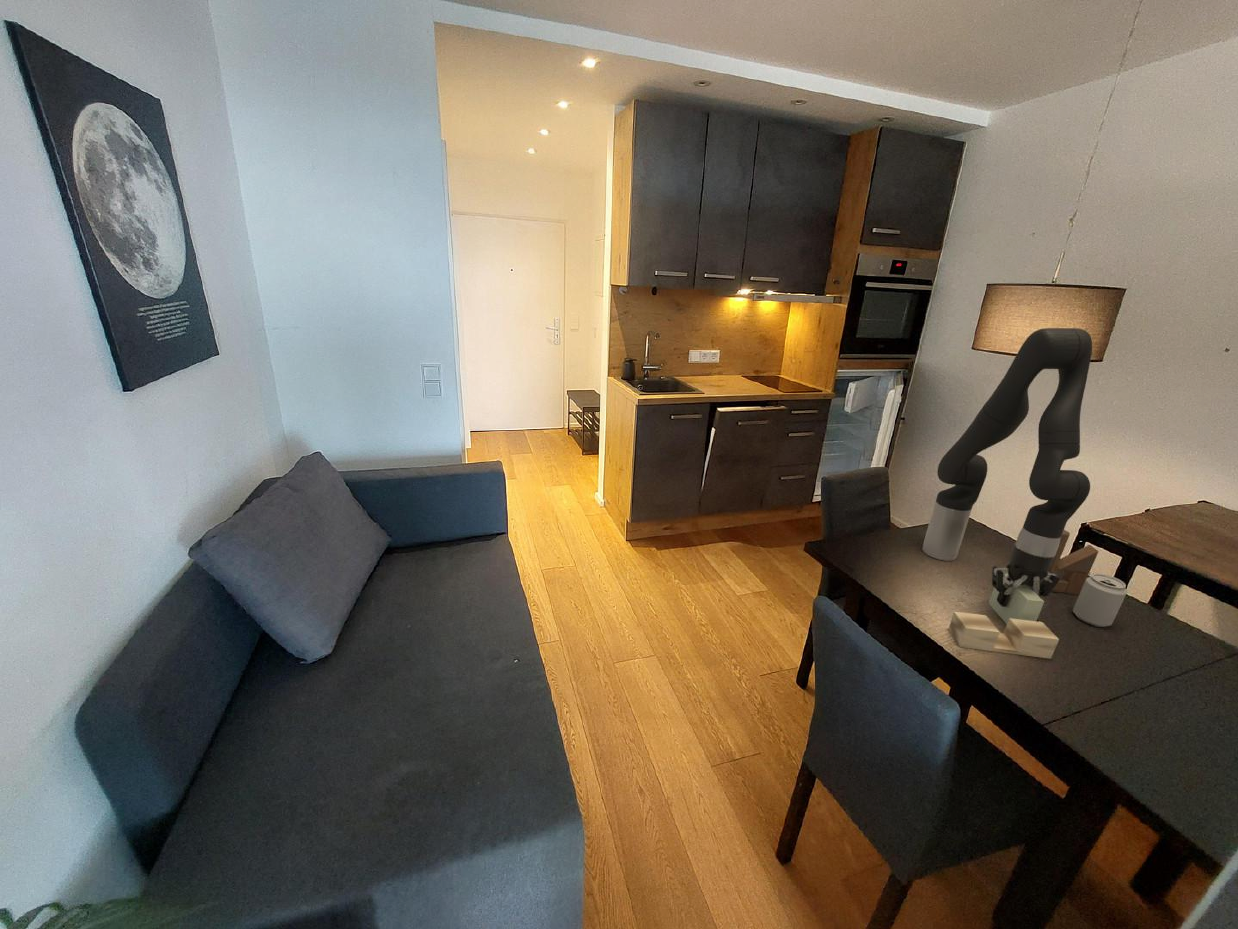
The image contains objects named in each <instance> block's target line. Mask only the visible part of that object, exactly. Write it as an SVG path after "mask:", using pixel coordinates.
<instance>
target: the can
mask: <svg viewBox="0 0 1238 929" xmlns="http://www.w3.org/2000/svg"><path fill="white" fill-rule="evenodd" d="M1126 586H1127V585H1126V583H1125V582H1124V581H1122V580H1121V579H1119V578H1118V577H1117V578H1116V577H1115V576H1111V575H1109V574H1103V573H1099V572H1098V573H1093V574H1091V576H1089V577H1088V576H1087V579H1086V580H1085V583H1084V585H1083V587H1082V590H1081V592H1080V594H1079V595H1078V598H1077V599H1076V601H1075V604H1074V606H1073V608H1072V612H1073V614H1075V616H1076V617H1077V618H1078V620H1081V622H1083V623H1086V624H1088V625H1091V626H1095V627H1098V628H1100V627H1101V628H1105V627H1111V626H1112V625H1113V622H1114V621H1115V619H1116V617H1117V615H1118V613H1119V610H1120V608H1121V606H1122V605H1123V602H1124V600H1125V598H1126V595H1127V594H1128V590H1127V589H1126Z"/></svg>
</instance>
